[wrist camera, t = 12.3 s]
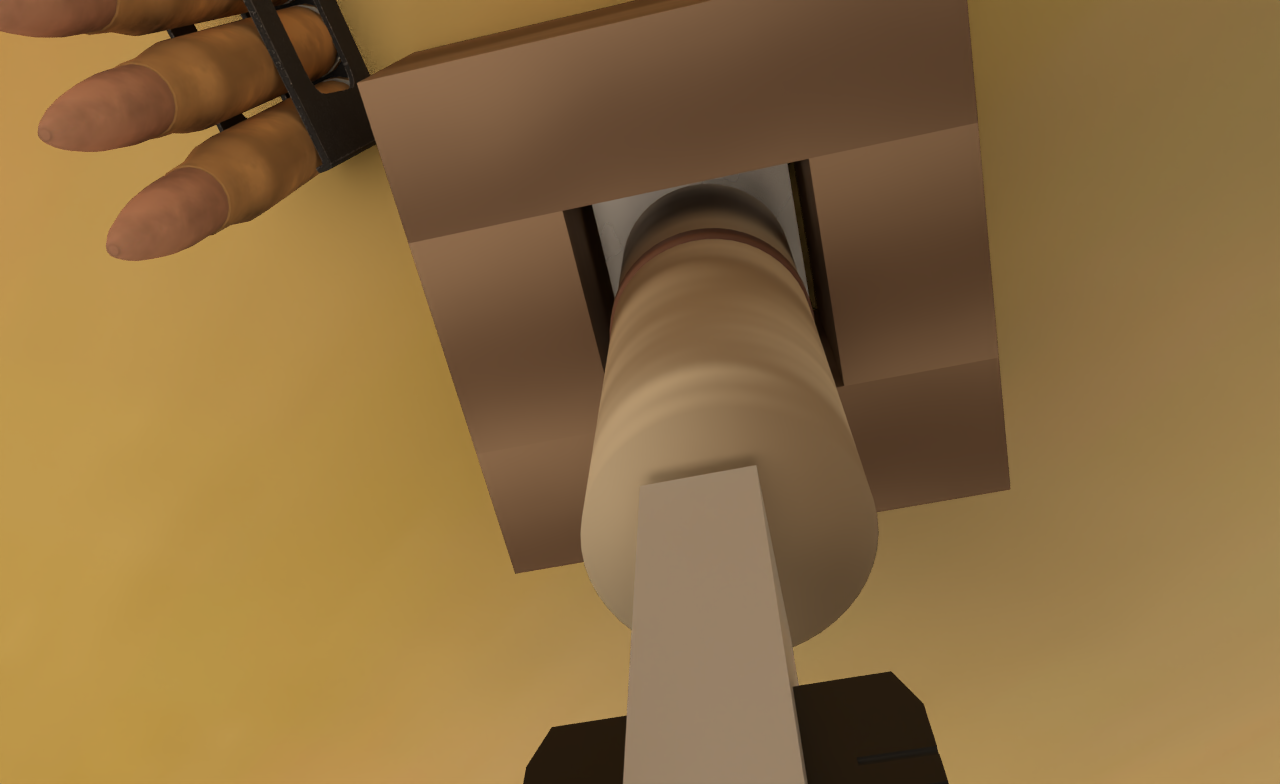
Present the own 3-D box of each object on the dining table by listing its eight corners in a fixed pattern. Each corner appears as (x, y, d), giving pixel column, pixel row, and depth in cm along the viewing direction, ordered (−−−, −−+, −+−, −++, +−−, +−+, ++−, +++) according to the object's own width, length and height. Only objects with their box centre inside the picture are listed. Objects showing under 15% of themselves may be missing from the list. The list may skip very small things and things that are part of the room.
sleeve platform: (591, 184, 25) (588, 192, 24) (782, 143, 25) (785, 150, 24) (633, 357, 27) (632, 370, 26) (811, 323, 26) (815, 334, 26)
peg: (640, 360, 26) (615, 682, 15) (603, 201, 24) (543, 435, 14) (804, 328, 26) (899, 638, 15) (777, 164, 24) (860, 375, 13)
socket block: (413, 52, 26) (356, 83, 21) (908, -64, 24) (961, -59, 20) (539, 474, 30) (515, 573, 26) (958, 398, 29) (1010, 489, 24)
